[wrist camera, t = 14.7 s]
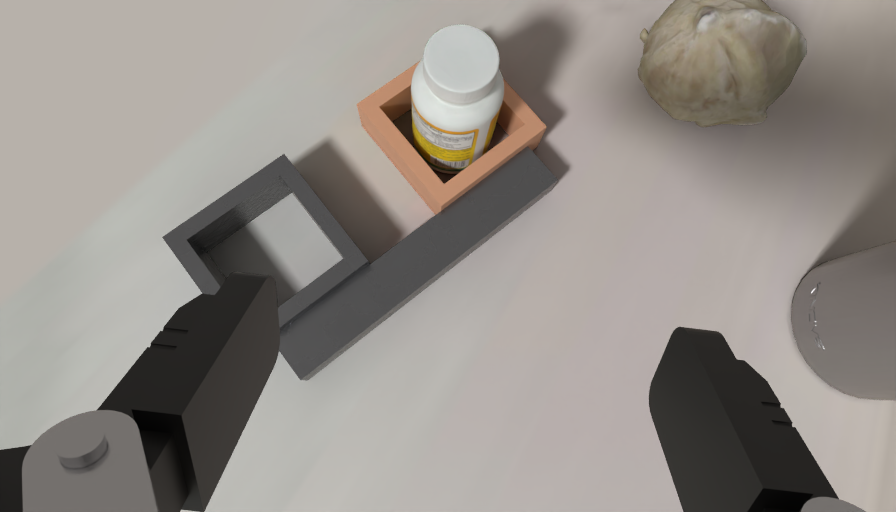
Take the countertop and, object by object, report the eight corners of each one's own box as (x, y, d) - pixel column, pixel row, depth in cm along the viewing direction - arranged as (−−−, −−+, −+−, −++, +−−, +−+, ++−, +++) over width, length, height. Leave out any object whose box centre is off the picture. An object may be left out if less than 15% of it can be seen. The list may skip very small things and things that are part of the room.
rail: (444, 69, 38) (445, 43, 35) (550, 190, 36) (561, 174, 34) (184, 249, 34) (162, 237, 32) (289, 394, 33) (276, 395, 30)
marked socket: (459, 58, 38) (461, 32, 36) (537, 146, 37) (546, 126, 34) (362, 126, 37) (356, 104, 34) (440, 220, 36) (441, 205, 33)
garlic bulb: (763, 132, 38) (878, 47, 28) (661, 178, 37) (745, 106, 27) (695, 25, 40) (781, -89, 30) (596, 66, 39) (653, -39, 29)
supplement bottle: (442, 190, 36) (448, 123, 27) (397, 130, 37) (387, 45, 28) (505, 148, 37) (533, 69, 28) (460, 90, 38) (472, -5, 29)
